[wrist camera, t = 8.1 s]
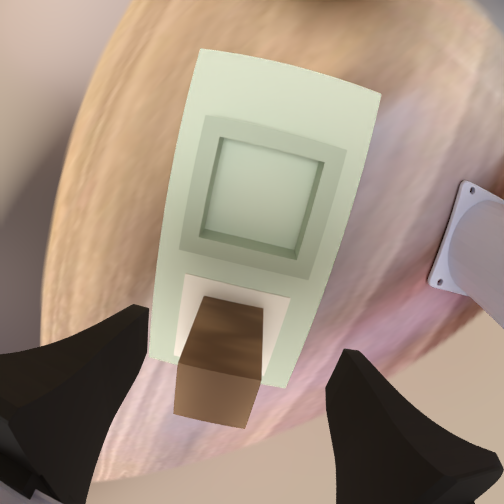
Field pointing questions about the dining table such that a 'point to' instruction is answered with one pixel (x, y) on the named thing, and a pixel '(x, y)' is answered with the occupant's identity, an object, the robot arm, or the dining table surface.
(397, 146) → the dining table surface
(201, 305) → the walnut post
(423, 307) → the dining table surface
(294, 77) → the pocket board
